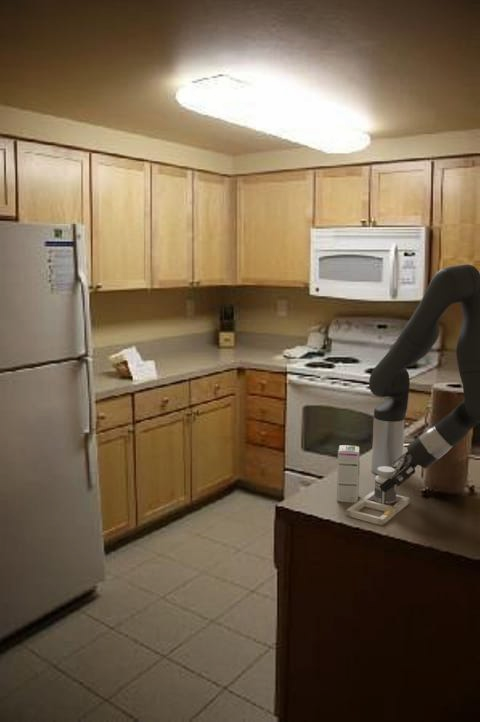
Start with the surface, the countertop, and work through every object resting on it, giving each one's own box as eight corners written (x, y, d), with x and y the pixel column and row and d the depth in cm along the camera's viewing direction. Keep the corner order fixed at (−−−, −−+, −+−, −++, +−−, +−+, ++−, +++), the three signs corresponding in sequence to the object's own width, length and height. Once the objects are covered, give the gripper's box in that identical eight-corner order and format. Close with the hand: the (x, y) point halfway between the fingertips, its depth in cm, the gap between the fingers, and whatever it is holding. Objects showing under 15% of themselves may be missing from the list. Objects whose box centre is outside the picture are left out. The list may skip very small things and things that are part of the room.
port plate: (374, 494, 177) (375, 488, 176) (409, 503, 171) (409, 496, 171) (345, 515, 162) (346, 508, 162) (382, 525, 156) (382, 518, 156)
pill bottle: (396, 501, 172) (398, 467, 170) (394, 509, 166) (396, 473, 165) (375, 499, 173) (376, 464, 172) (372, 506, 168) (374, 471, 166)
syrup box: (358, 503, 170) (360, 451, 168) (336, 501, 171) (337, 450, 169) (358, 495, 176) (360, 445, 173) (337, 494, 177) (339, 444, 174)
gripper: (419, 429, 171) (374, 465, 176) (419, 443, 158) (371, 482, 163) (439, 449, 171) (393, 485, 176) (440, 466, 157) (391, 504, 162)
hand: (382, 484), depth 169 cm, fingers open, 8 cm apart
